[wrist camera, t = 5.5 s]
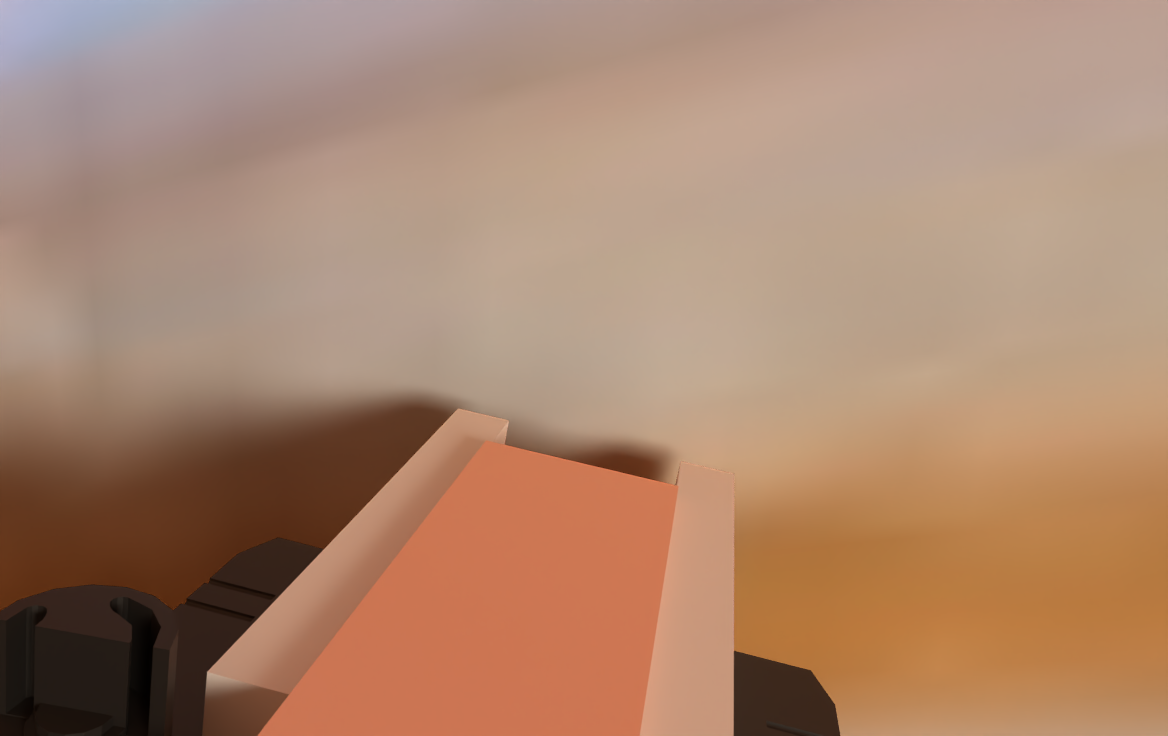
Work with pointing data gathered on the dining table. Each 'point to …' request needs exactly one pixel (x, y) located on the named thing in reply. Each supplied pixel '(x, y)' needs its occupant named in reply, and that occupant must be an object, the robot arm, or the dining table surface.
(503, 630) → the orange rectangular block
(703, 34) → the dining table surface
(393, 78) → the dining table surface
